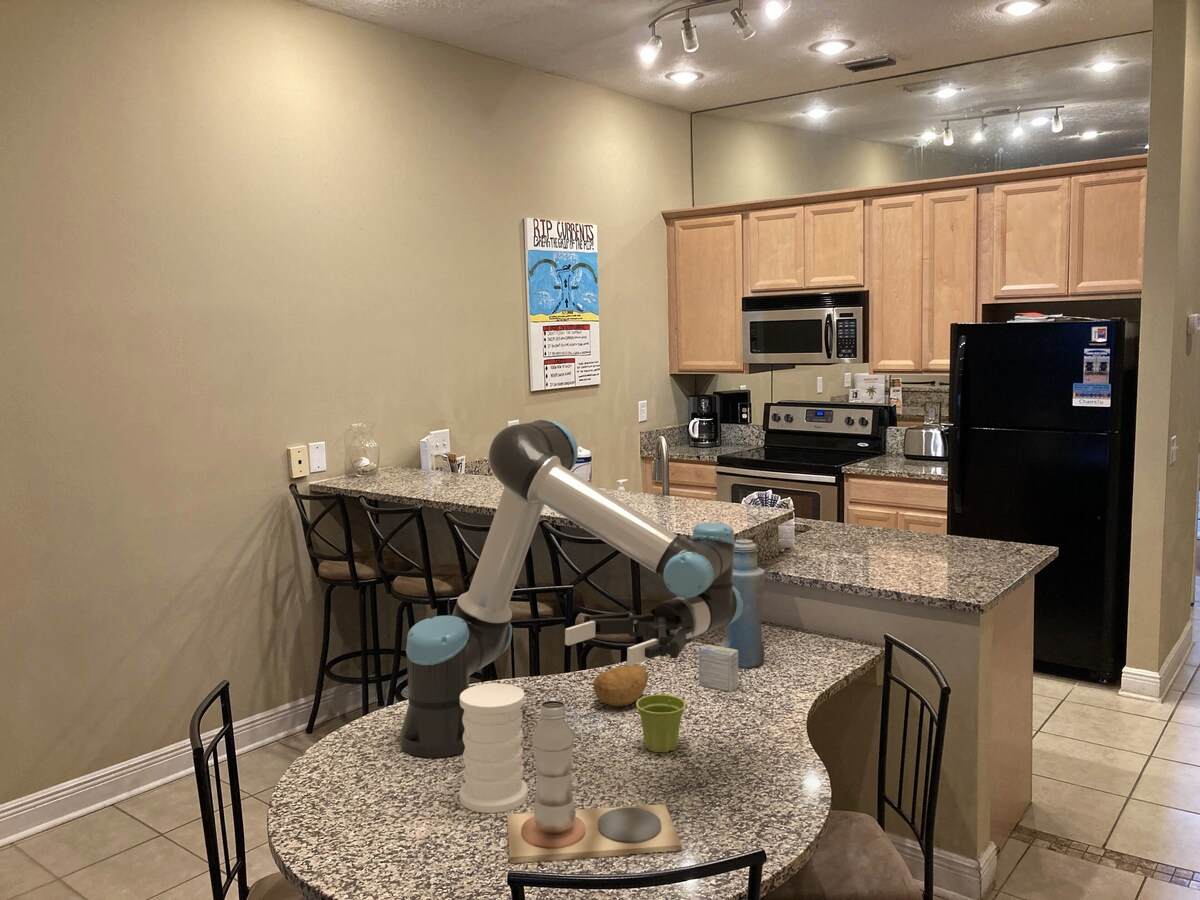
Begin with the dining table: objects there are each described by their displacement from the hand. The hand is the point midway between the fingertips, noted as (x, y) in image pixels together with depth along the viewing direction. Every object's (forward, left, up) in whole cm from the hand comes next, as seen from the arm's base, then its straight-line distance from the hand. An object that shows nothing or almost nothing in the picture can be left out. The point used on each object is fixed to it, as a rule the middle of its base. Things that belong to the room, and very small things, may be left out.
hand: (596, 646), depth 152 cm
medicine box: (+34, +55, -29) cm, 71 cm away
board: (-2, -6, -28) cm, 29 cm away
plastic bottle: (-7, -6, -27) cm, 29 cm away
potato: (+11, +48, -29) cm, 57 cm away
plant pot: (+15, +25, -29) cm, 41 cm away
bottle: (+44, +70, -29) cm, 88 cm away
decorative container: (-17, +9, -29) cm, 34 cm away
